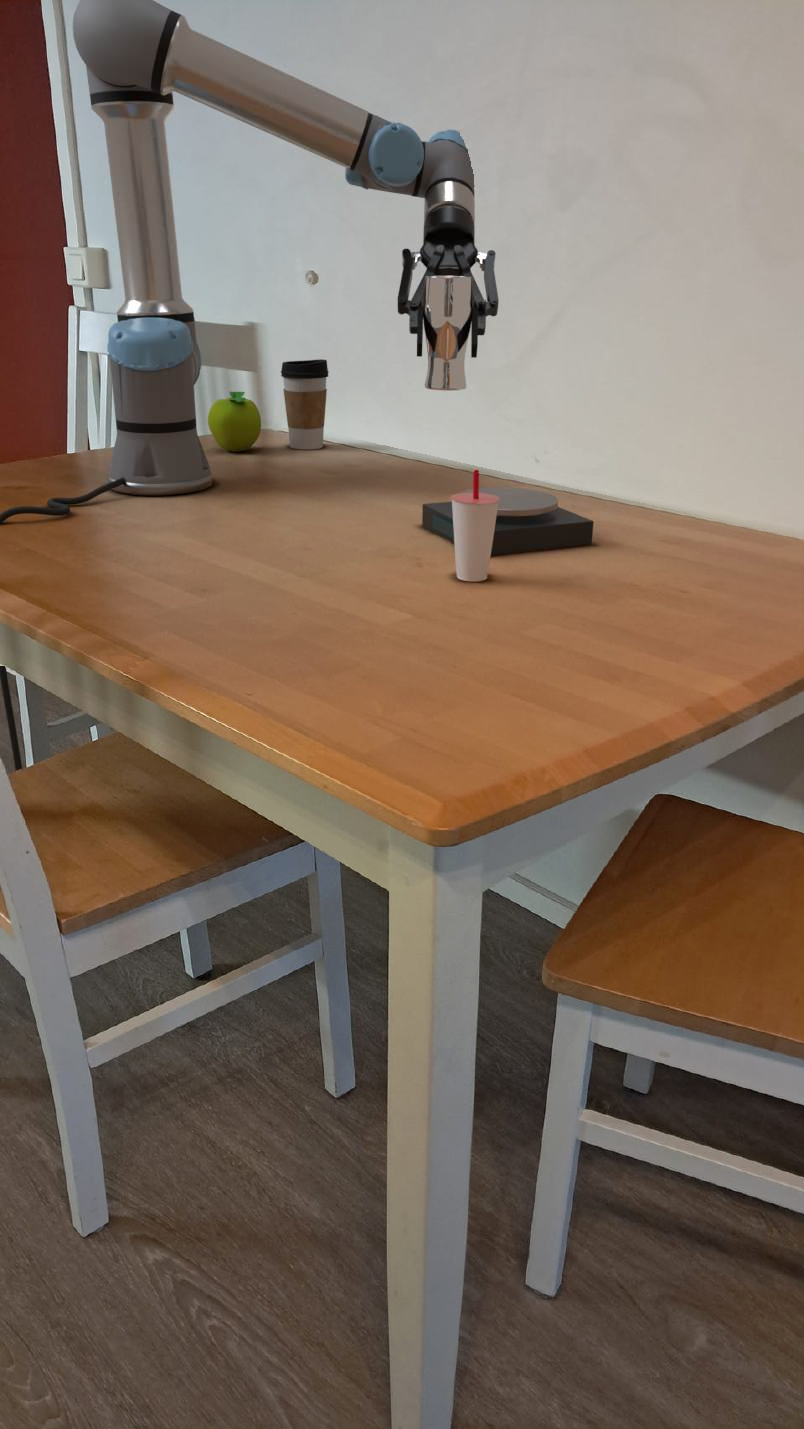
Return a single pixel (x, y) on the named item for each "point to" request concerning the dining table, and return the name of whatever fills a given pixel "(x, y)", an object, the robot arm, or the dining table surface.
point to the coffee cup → (305, 402)
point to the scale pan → (520, 501)
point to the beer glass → (447, 329)
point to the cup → (473, 531)
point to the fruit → (234, 422)
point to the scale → (518, 529)
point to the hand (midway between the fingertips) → (446, 350)
